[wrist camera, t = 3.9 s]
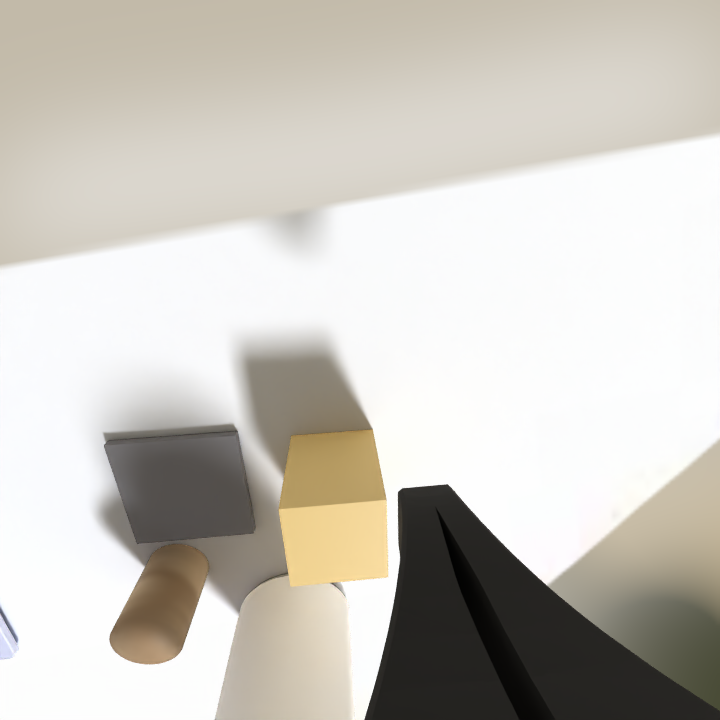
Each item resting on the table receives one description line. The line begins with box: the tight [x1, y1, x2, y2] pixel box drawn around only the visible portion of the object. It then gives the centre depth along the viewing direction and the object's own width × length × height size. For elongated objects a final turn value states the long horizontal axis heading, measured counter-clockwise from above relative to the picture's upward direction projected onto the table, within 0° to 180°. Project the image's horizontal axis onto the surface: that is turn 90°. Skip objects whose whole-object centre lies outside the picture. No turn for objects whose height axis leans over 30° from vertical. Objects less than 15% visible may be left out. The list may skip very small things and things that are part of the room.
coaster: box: [104, 431, 255, 544], centre depth 19 cm, size 6×6×1 cm
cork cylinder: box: [110, 544, 209, 664], centre depth 19 cm, size 3×3×4 cm
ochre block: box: [278, 429, 388, 587], centre depth 17 cm, size 4×4×5 cm
